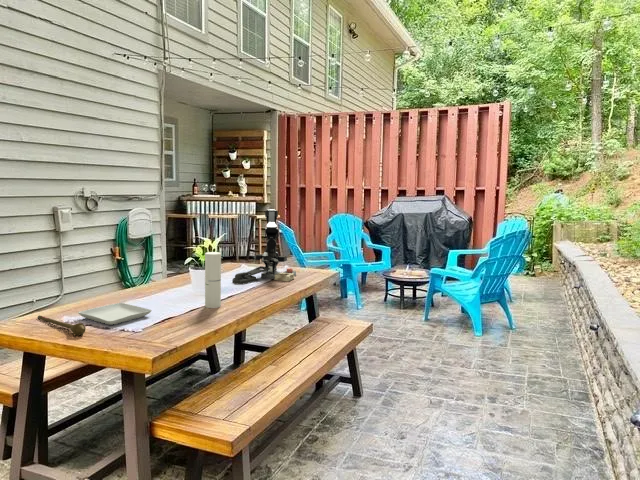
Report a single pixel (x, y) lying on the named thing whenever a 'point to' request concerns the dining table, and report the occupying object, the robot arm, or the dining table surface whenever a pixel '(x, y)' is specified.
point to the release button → (289, 270)
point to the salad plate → (115, 313)
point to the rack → (284, 276)
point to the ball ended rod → (66, 325)
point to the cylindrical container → (212, 279)
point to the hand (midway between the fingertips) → (270, 271)
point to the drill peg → (270, 267)
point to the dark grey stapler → (248, 275)
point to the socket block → (272, 276)
